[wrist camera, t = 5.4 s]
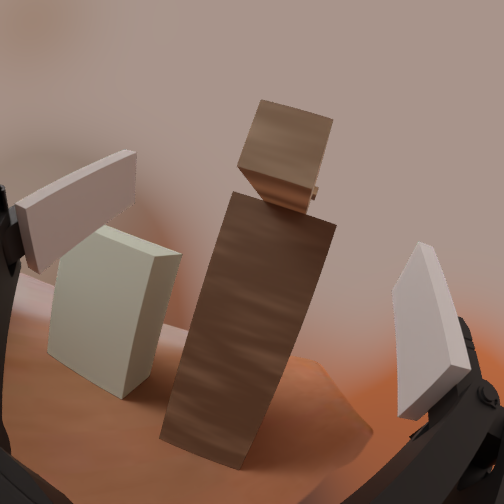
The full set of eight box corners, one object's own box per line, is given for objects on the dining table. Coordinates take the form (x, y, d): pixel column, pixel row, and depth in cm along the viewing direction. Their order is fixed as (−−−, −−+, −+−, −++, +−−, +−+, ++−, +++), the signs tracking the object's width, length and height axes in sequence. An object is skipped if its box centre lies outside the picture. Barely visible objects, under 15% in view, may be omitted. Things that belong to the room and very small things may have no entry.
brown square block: (272, 215, 46) (283, 183, 45) (305, 226, 45) (316, 194, 45) (227, 163, 16) (257, 82, 16) (321, 192, 15) (346, 106, 15)
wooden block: (194, 391, 45) (253, 208, 43) (255, 414, 43) (323, 231, 42) (159, 438, 31) (233, 191, 29) (239, 470, 30) (336, 225, 28)
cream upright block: (81, 338, 46) (104, 224, 45) (149, 375, 44) (182, 254, 43) (47, 353, 37) (68, 221, 36) (121, 399, 36) (154, 256, 34)
